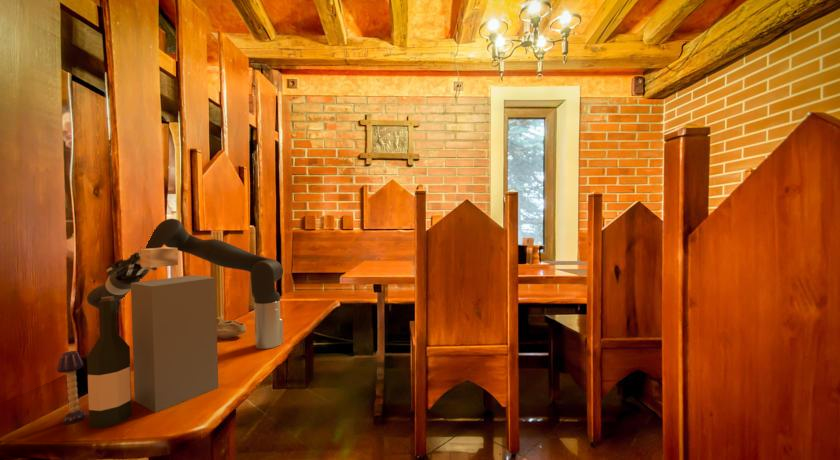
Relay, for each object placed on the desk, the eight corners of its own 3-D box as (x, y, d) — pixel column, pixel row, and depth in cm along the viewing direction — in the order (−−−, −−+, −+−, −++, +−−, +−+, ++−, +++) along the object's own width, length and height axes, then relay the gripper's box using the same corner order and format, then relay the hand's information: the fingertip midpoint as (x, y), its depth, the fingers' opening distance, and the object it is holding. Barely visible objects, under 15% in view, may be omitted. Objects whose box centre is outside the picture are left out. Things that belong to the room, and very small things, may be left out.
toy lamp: (69, 426, 87) (66, 356, 86) (53, 424, 88) (51, 355, 87) (90, 415, 91) (88, 349, 91) (76, 414, 92) (73, 348, 92)
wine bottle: (96, 432, 84) (91, 302, 83) (83, 422, 88) (78, 298, 88) (139, 415, 91) (135, 295, 90) (124, 407, 95) (121, 292, 95)
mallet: (148, 261, 117) (147, 246, 117) (177, 265, 107) (177, 248, 107) (121, 263, 111) (120, 247, 111) (150, 267, 101) (150, 249, 101)
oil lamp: (240, 341, 149) (240, 321, 149) (204, 341, 150) (204, 321, 149) (254, 332, 160) (253, 314, 160) (220, 333, 161) (220, 314, 160)
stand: (196, 379, 112) (193, 275, 112) (218, 387, 106) (215, 277, 105) (134, 401, 99) (130, 283, 98) (155, 412, 92) (151, 286, 92)
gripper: (93, 271, 114) (112, 245, 106) (145, 266, 126) (166, 242, 118) (99, 293, 112) (118, 268, 104) (151, 286, 124) (172, 263, 116)
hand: (143, 254), depth 111 cm, fingers closed on mallet, 2 cm apart
